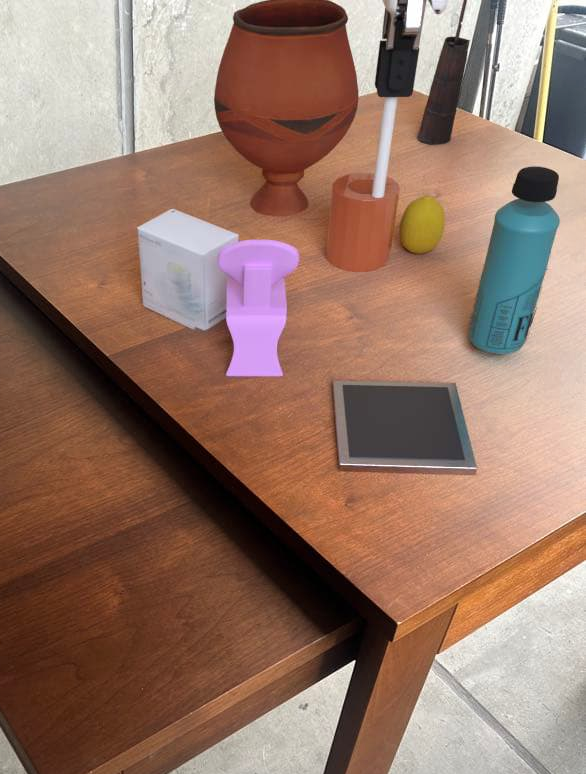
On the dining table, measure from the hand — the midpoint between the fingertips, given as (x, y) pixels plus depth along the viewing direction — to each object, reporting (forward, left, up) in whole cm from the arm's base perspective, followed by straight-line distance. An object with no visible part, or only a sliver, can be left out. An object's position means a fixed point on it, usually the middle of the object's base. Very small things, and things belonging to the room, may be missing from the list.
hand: (393, 91), depth 80 cm
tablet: (-3, +16, -27) cm, 31 cm away
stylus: (0, 0, -10) cm, 10 cm away
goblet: (+9, -35, -27) cm, 46 cm away
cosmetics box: (+20, -6, -27) cm, 34 cm away
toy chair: (+12, +3, -27) cm, 30 cm away
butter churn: (-16, -60, -27) cm, 68 cm away
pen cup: (-1, -19, -27) cm, 33 cm away
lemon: (-9, -21, -27) cm, 36 cm away
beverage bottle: (-15, +1, -27) cm, 31 cm away
